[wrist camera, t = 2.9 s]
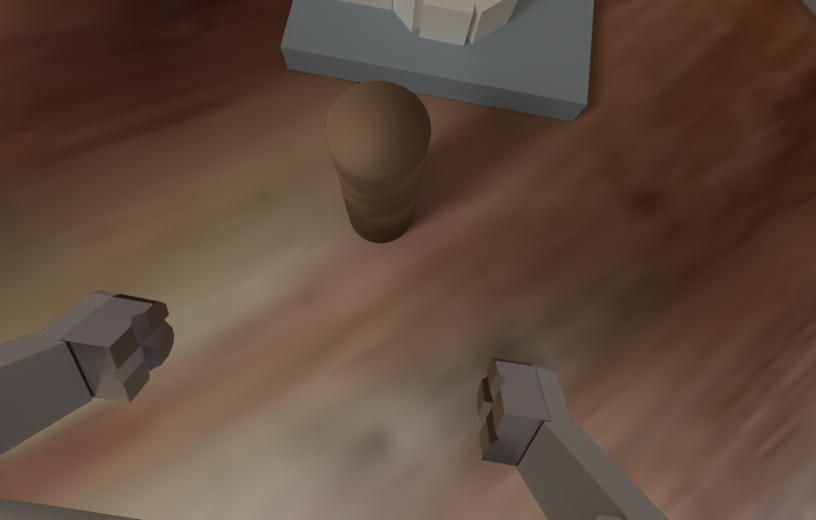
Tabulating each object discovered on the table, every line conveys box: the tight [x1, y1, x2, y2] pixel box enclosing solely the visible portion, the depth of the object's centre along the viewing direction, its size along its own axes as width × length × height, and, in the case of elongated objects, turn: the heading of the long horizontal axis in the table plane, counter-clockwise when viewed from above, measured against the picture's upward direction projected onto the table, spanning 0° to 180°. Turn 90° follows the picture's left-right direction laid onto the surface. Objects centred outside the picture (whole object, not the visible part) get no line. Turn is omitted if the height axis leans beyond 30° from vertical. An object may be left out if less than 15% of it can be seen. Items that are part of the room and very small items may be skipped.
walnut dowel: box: [326, 81, 431, 243], centre depth 19 cm, size 4×4×10 cm
